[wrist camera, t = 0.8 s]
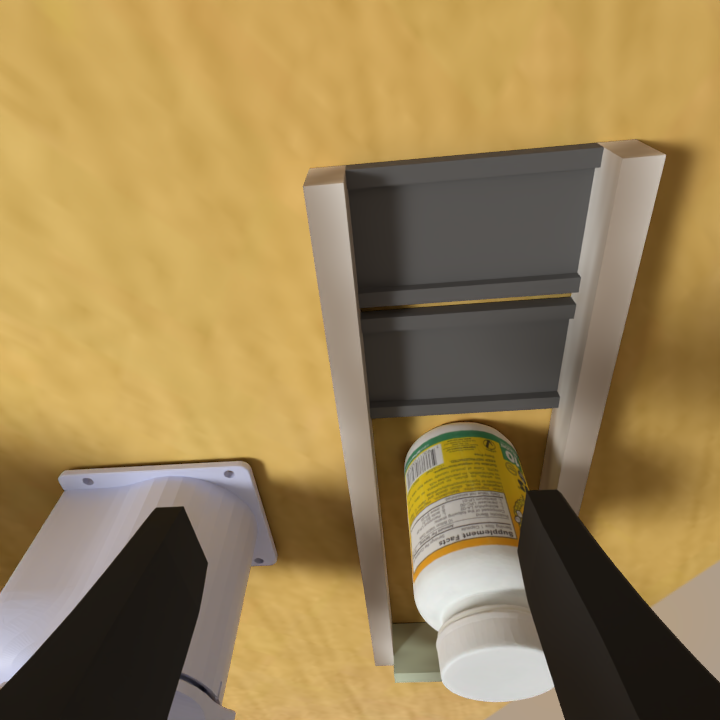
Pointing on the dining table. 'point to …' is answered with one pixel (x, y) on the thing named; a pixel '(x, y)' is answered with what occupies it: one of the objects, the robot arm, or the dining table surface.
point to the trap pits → (468, 276)
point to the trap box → (576, 383)
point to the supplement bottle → (473, 561)
